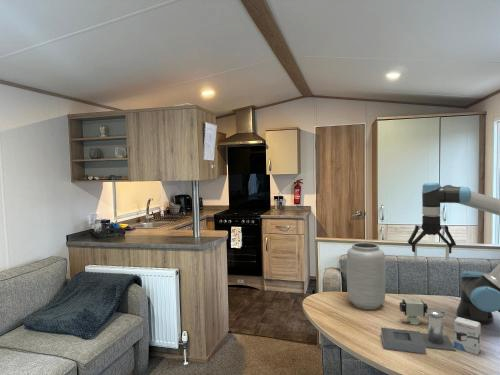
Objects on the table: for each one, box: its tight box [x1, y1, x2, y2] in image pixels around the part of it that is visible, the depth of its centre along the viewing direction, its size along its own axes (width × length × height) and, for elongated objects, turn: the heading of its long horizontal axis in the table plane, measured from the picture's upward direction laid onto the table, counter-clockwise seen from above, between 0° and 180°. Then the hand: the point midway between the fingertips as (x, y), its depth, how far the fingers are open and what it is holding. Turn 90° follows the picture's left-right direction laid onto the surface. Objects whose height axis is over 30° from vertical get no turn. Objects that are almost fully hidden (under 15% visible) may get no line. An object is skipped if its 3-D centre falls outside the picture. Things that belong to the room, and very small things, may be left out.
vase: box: [346, 241, 386, 310], centre depth 184 cm, size 20×20×34 cm
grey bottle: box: [426, 307, 446, 344], centre depth 143 cm, size 7×7×13 cm
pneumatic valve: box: [399, 298, 429, 326], centre depth 161 cm, size 6×12×12 cm, turn 78°
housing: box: [380, 327, 427, 355], centre depth 142 cm, size 16×12×4 cm
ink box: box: [453, 316, 482, 355], centre depth 137 cm, size 8×5×12 cm, turn 44°
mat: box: [420, 332, 456, 352], centre depth 143 cm, size 12×12×1 cm
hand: (431, 259), depth 158 cm, fingers open, 13 cm apart
